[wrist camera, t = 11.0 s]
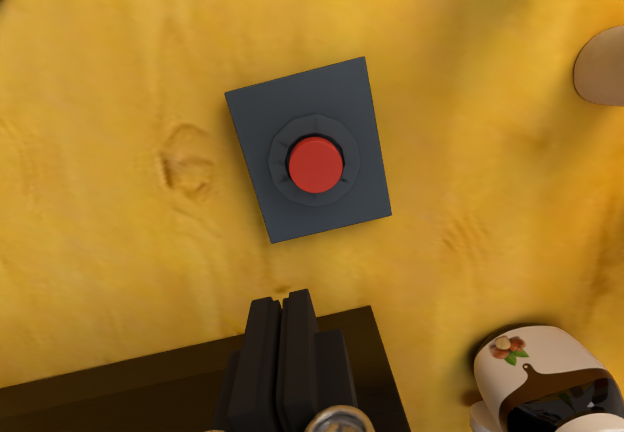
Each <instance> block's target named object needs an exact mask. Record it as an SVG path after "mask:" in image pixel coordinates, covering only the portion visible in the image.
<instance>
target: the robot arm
mask: <svg viewBox="0 0 624 432" xmlns="http://www.w3.org/2000/svg"><path fill="white" fill-rule="evenodd" d="M206 432H375V430H374V428H373V425H372V423H371V422H370V420H369V418H368V417H367V415H366V414H364V413H363V412H362V411H361V410H360V409H358V405H357V399H356V393H355V388H354V382H353V376H352V371H351V366H350V362H349V357H348V353H347V348H346V344H345V340H344V336H343V332H342V329H341V328H338V329H333V330H328V331H324V332H320V331H319V327H318V324H317V320H316V316H315V313H314V309H313V305H312V301H311V298H310V294H309V291H308V289H303V290H299V291H294V292H290V293H289V298H285V299H283V307H282V308H281V305H280V302H279V300H275V301H273V299H272V298H271V297H266V298H261V299H257V300H253V301H252V302H251V306H250V311H249V316H248V320H247V325H246V329H245V334H244V339H243V343H242V348H241V349H237V350H233V351H231V352H230V355H229V358H228V362H227V366H226V370H225V374H224V377H223V381H222V385H221V389H220V393H219V397H218V401H217V405H216V409H215V413H214V417H213V421H212V424H211V428H210V431H206Z"/></svg>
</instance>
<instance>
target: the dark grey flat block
mask: <svg viewBox="0 0 624 432" xmlns="http://www.w3.org/2000/svg"><path fill="white" fill-rule="evenodd" d="M225 97H226V100H227V103H228V107H229V110H230V113H231V116H232V119H233V123H234V126H235V129H236V132H237V135H238V139H239V142H240V145H241V148H242V151H243V155H244V158H245V161H246V164H247V168H248V171H249V174H250V177H251V180H252V184H253V187H254V190H255V193H256V196H257V200H258V203H259V206H260V209H261V212H262V216H263V219H264V222H265V225H266V228H267V232H268V235H269V238H270V241H271V243H272V244H273V243H277V242H281V241H286V240H290V239H294V238H298V237H302V236H307V235H311V234H315V233H319V232H324V231H328V230H332V229H336V228H341V227H345V226H349V225H353V224H357V223H362V222H366V221H370V220H374V219H379V218H383V217H387V216H391V215H392V212H391V206H390V200H389V194H388V189H387V183H386V177H385V171H384V165H383V160H382V154H381V148H380V142H379V136H378V130H377V125H376V119H375V113H374V107H373V101H372V96H371V90H370V84H369V78H368V72H367V66H366V61H365V57H360V58H356V59H352V60H348V61H344V62H340V63H336V64H333V65H329V66H325V67H321V68H317V69H313V70H309V71H306V72H302V73H298V74H294V75H290V76H286V77H282V78H279V79H275V80H271V81H267V82H263V83H259V84H255V85H251V86H248V87H244V88H240V89H236V90H232V91H228V92H225ZM309 137H321V138H324V139H326V140H328V141H330V142H331V143H332V144H333V145H334V146H335V147H336V149H337V151H338V152H339V154H340V156H341V159H342V164H343V168H342V174H341V177H340V179H339V180H338V182H337V183H336V184H335V185H334V186H333V187H332V188H331V189H329V190H327V191H325V192H321V193H310V192H306V191H304V190H302V189H300V188H299V187H298V186H297V185H296V184H295V183H294V182H293V180H292V178H291V176H290V172H289V161H290V155H291V152H292V150H293V149H294V147H295V146H296V145H297V144H298V143H299V142H300V141H302V140H304V139H306V138H309Z"/></svg>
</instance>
